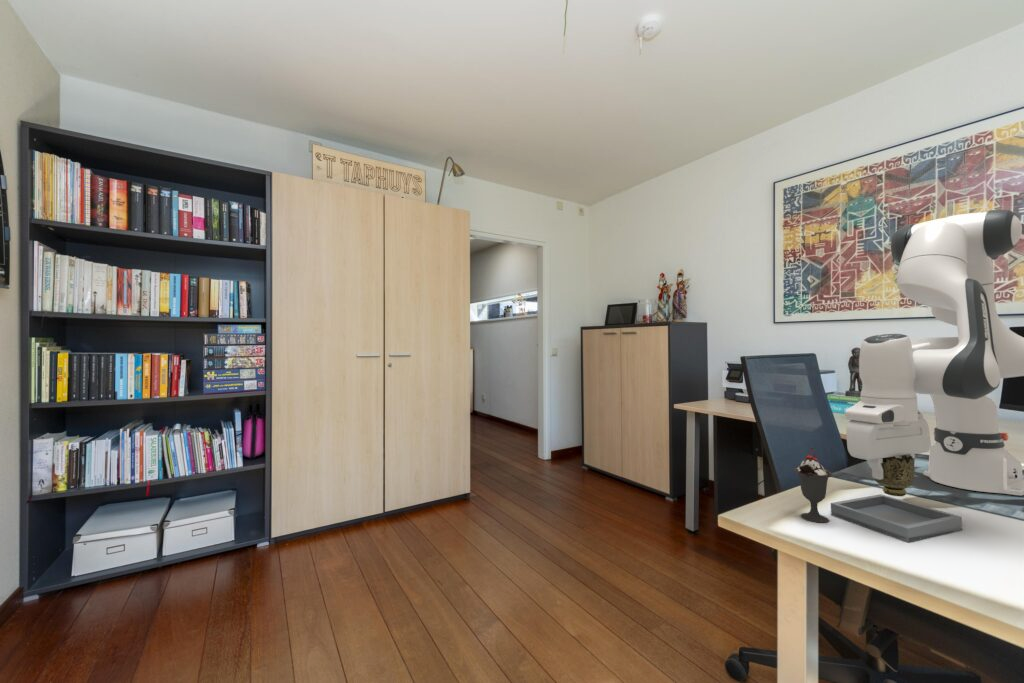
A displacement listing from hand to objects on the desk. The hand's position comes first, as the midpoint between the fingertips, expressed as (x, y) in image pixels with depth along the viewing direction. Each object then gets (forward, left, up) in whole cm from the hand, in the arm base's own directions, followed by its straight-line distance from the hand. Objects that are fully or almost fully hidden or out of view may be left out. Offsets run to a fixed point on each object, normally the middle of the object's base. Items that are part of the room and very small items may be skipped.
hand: (891, 476), depth 86 cm
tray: (0, 0, -10) cm, 10 cm away
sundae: (+13, -7, -10) cm, 18 cm away
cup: (0, 0, -4) cm, 4 cm away
